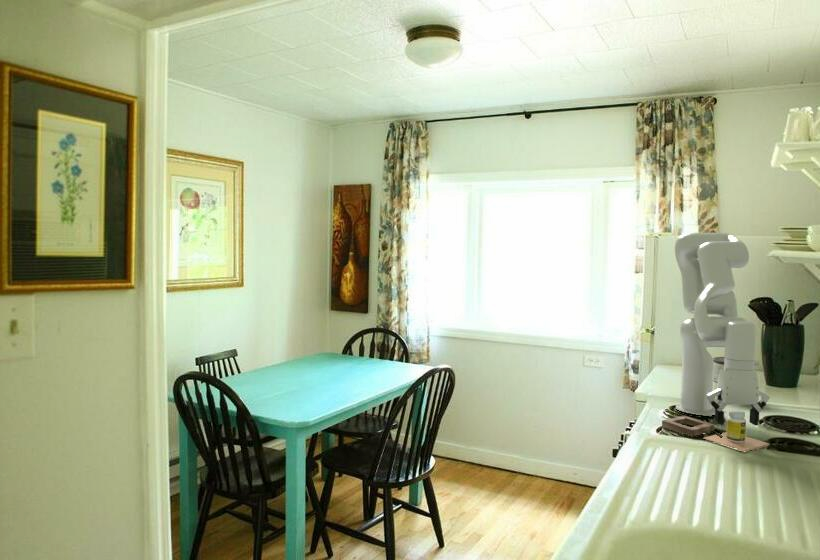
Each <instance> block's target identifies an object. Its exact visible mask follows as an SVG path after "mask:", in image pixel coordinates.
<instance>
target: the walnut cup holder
mask: <svg viewBox="0 0 820 560" xmlns="http://www.w3.org/2000/svg"><path fill="white" fill-rule="evenodd" d="M682 424H689V425H694V427H690V426H687V425H682ZM661 428H662V429H665V428H666V429H665V430H668V429H670V430H669V431H671V430H673V431H672V432H674V431H676V432H675V433H677V432H679V433H678V434H680V433H683V434H686V435H688V436H687V437H689V436H691V437H690V438H694V437H693V436H696V435H699V434H701V433H705V432H708V431H711V430H716V429H715V428H716V427H715V424H713V423H711V422H706V421H703V420H701V419H697V418H693V417H690V416H687V415H681V416H676V417H672V418H667V419H663V420H661ZM683 434H682V435H683ZM686 435H685V436H686ZM696 437H697V436H696Z"/></svg>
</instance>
